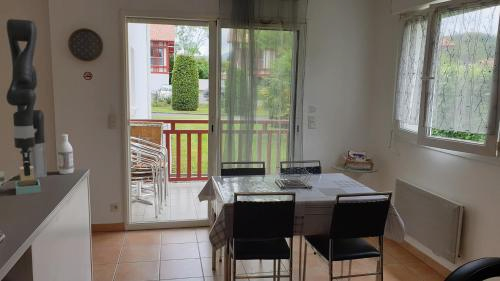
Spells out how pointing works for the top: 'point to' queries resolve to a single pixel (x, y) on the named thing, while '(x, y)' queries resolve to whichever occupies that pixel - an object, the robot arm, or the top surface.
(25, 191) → the tote
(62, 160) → the bath foam
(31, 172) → the light box
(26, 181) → the block
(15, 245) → the top surface
